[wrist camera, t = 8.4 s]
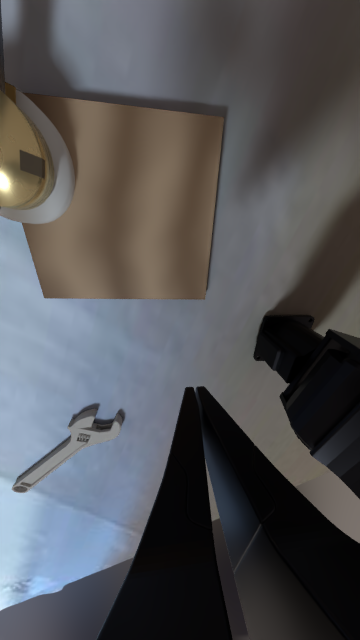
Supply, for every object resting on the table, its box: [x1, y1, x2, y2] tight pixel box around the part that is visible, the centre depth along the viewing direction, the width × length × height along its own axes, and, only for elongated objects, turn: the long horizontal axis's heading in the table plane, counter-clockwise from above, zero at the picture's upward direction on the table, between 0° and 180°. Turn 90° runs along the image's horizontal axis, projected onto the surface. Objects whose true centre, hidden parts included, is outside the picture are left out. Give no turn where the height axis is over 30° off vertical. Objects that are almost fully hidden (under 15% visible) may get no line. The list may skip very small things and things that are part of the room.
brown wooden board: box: [0, 82, 224, 299], centre depth 15 cm, size 19×14×2 cm
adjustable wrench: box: [12, 408, 122, 493], centre depth 28 cm, size 25×6×2 cm, turn 127°
